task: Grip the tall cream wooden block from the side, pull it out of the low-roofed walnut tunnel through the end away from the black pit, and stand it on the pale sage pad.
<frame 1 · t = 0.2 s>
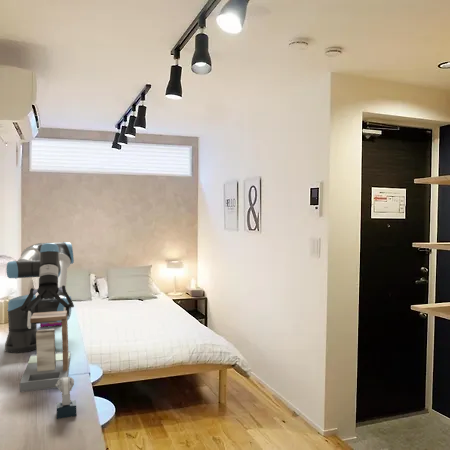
hand: (47, 325, 187), 16 cm above the worktop, tool tilted 35°, fingers open, 13 cm apart
walnut tunnel: (50, 341, 174), on the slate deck, point 13 cm above the worktop
watch: (66, 414, 142), on the worktop
candy bar box: (51, 326, 253), on the worktop
cream block: (46, 368, 174), point 3 cm above the worktop, touching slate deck
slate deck: (47, 373, 178), on the worktop
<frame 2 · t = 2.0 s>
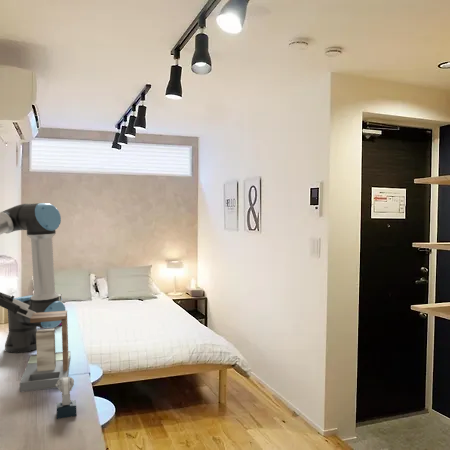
hand: (30, 312, 182), 22 cm above the worktop, tool tilted 60°, fingers open, 10 cm apart
nothing on the worktop moved.
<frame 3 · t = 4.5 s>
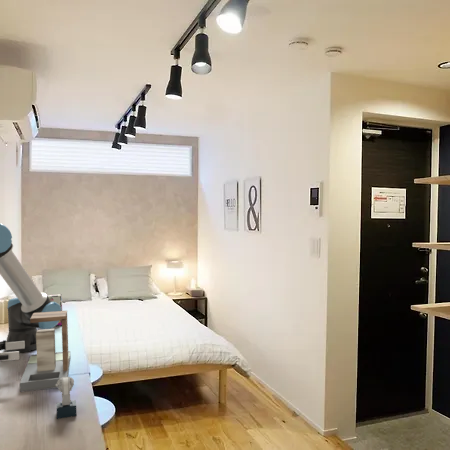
hand: (22, 349, 171), 11 cm above the worktop, tool horizontal, fingers open, 13 cm apart
nothing on the worktop moved.
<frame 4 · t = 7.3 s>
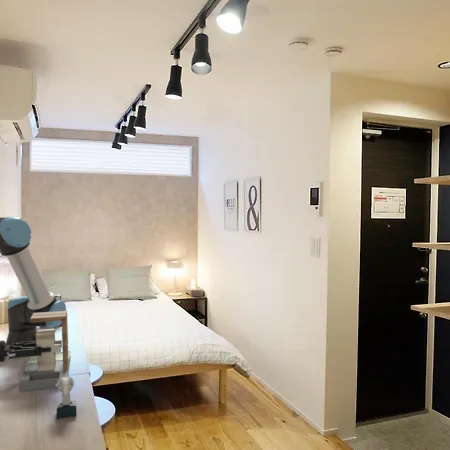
hand: (61, 345, 176), 11 cm above the worktop, tool horizontal, fingers closed on cream block, 5 cm apart
cream block: (46, 368, 174), point 3 cm above the worktop, touching gripper, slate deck
everything else where it was.
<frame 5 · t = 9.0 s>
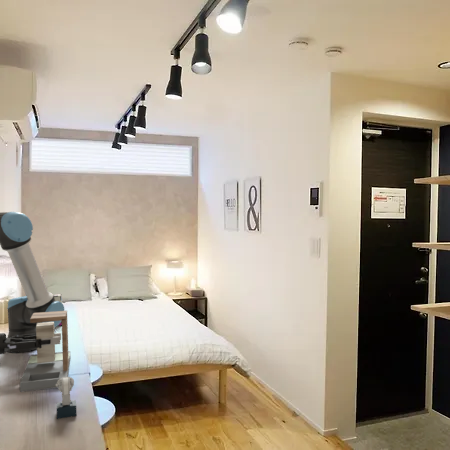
hand: (60, 338, 180), 12 cm above the worktop, tool horizontal, fingers closed on cream block, 5 cm apart
cream block: (46, 360, 179), point 4 cm above the worktop, touching gripper
everything else where it was.
when the fingers open (12 cm above the worktop, at t = 11.0 s): cream block stays where it is, resting on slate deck.
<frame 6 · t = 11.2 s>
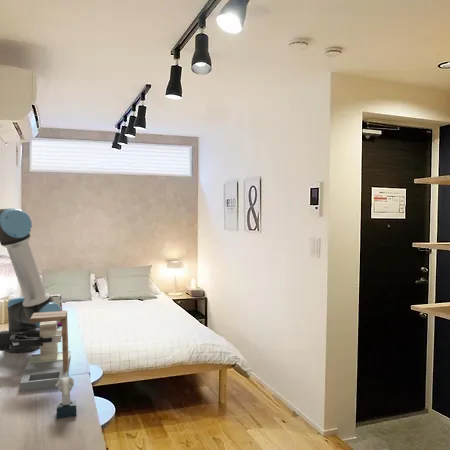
hand: (61, 335, 187), 12 cm above the worktop, tool horizontal, fingers open, 8 cm apart
cream block: (49, 357, 186), point 3 cm above the worktop, touching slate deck
everything else where it was.
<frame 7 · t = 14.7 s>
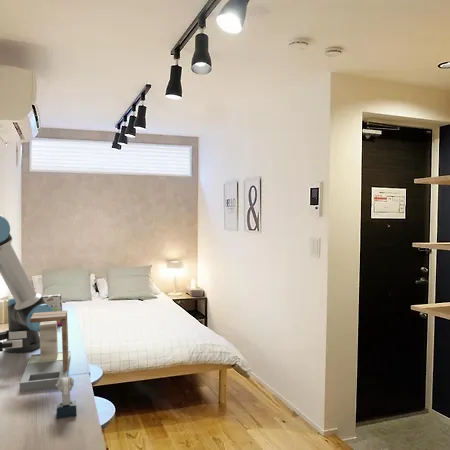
hand: (24, 338, 184), 12 cm above the worktop, tool horizontal, fingers open, 13 cm apart
nothing on the worktop moved.
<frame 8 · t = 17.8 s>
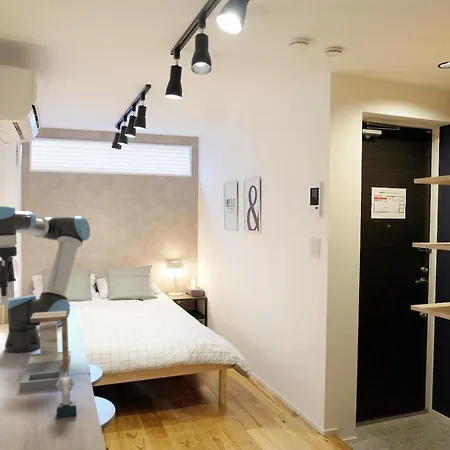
hand: (7, 301, 182), 27 cm above the worktop, tool pointing down, fingers open, 13 cm apart
nothing on the worktop moved.
at the end: cream block inside the target area (0.0 cm from its centre), point 3.2 cm above the worktop; cream block tilted 0°; the gripper is holding nothing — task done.
